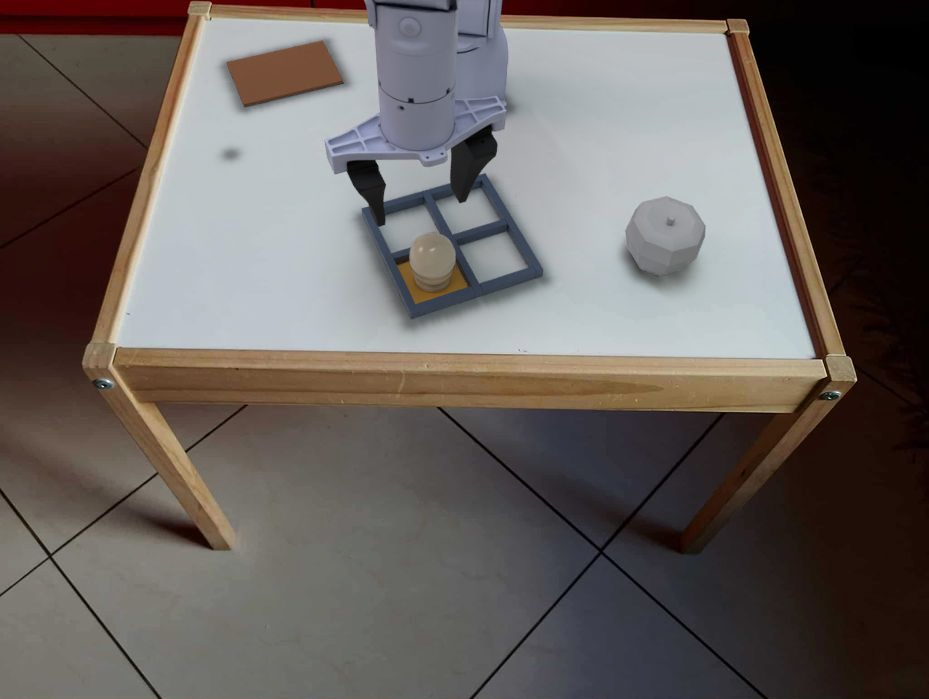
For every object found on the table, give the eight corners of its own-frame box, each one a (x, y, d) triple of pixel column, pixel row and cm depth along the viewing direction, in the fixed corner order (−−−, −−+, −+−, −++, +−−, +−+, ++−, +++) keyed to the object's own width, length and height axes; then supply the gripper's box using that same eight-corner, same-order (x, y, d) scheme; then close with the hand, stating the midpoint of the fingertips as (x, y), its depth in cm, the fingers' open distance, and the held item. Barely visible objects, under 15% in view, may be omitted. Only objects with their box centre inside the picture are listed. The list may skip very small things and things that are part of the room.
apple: (614, 227, 79) (628, 183, 74) (688, 233, 79) (708, 189, 74) (618, 288, 75) (633, 246, 69) (696, 294, 75) (718, 252, 69)
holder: (484, 184, 82) (485, 172, 80) (541, 279, 75) (543, 269, 74) (362, 219, 78) (361, 208, 77) (410, 322, 72) (410, 312, 70)
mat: (323, 43, 93) (322, 40, 93) (343, 83, 89) (343, 80, 89) (227, 64, 90) (226, 61, 90) (244, 107, 86) (243, 104, 86)
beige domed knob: (444, 255, 75) (445, 217, 70) (461, 288, 73) (464, 251, 68) (403, 268, 74) (401, 230, 69) (419, 302, 72) (419, 265, 67)
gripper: (338, 138, 51) (355, 262, 63) (529, 89, 55) (512, 215, 66) (308, 74, 54) (328, 203, 66) (490, 31, 58) (479, 162, 69)
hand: (418, 206), depth 66 cm, fingers open, 7 cm apart
